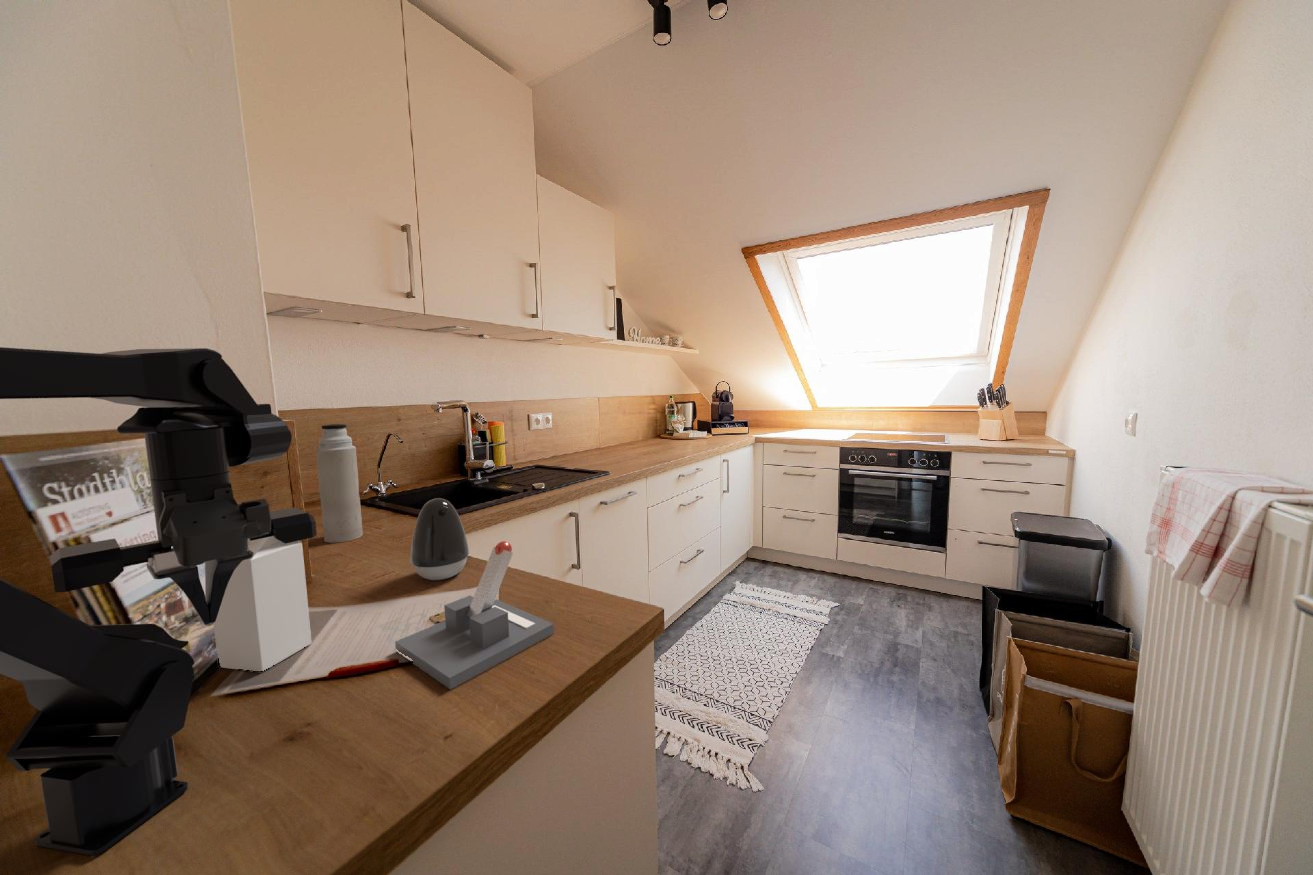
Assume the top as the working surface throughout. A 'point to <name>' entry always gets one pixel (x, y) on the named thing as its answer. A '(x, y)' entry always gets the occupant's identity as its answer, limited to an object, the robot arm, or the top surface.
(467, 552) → the grey egg shaped device
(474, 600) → the switch lever
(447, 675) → the switch box
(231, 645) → the milk carton
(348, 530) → the thermos bottle
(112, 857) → the top surface
